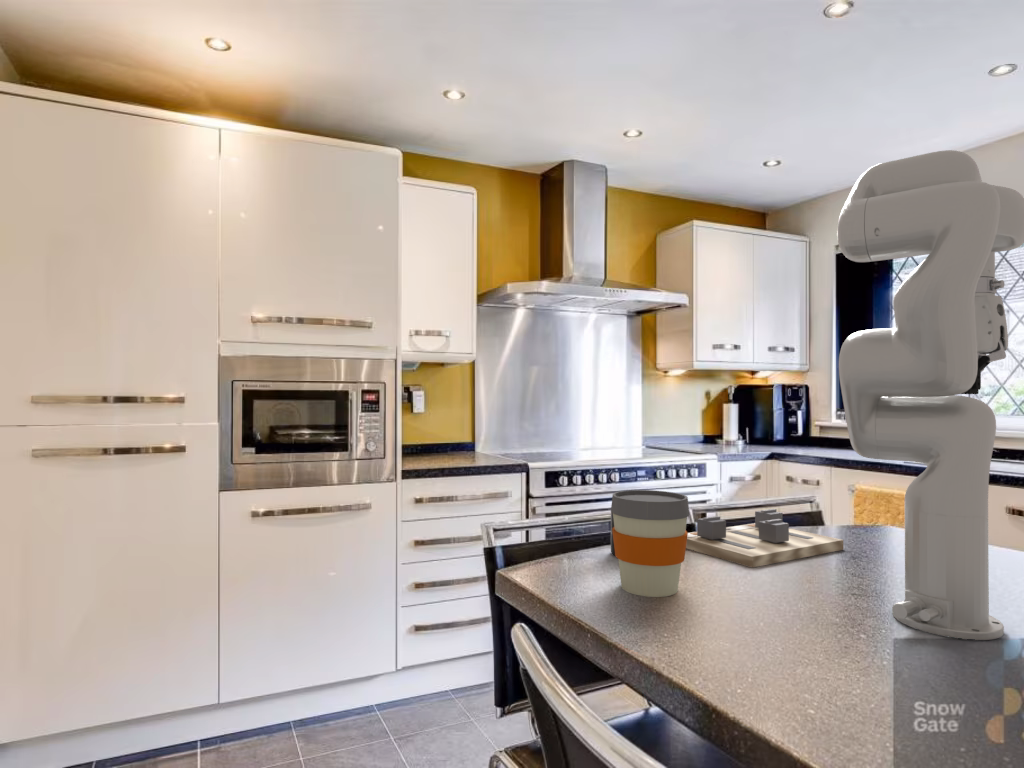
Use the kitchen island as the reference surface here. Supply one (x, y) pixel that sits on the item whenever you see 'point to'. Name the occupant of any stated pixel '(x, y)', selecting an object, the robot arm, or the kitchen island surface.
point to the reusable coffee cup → (650, 540)
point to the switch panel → (762, 546)
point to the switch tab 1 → (711, 528)
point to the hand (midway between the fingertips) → (969, 393)
